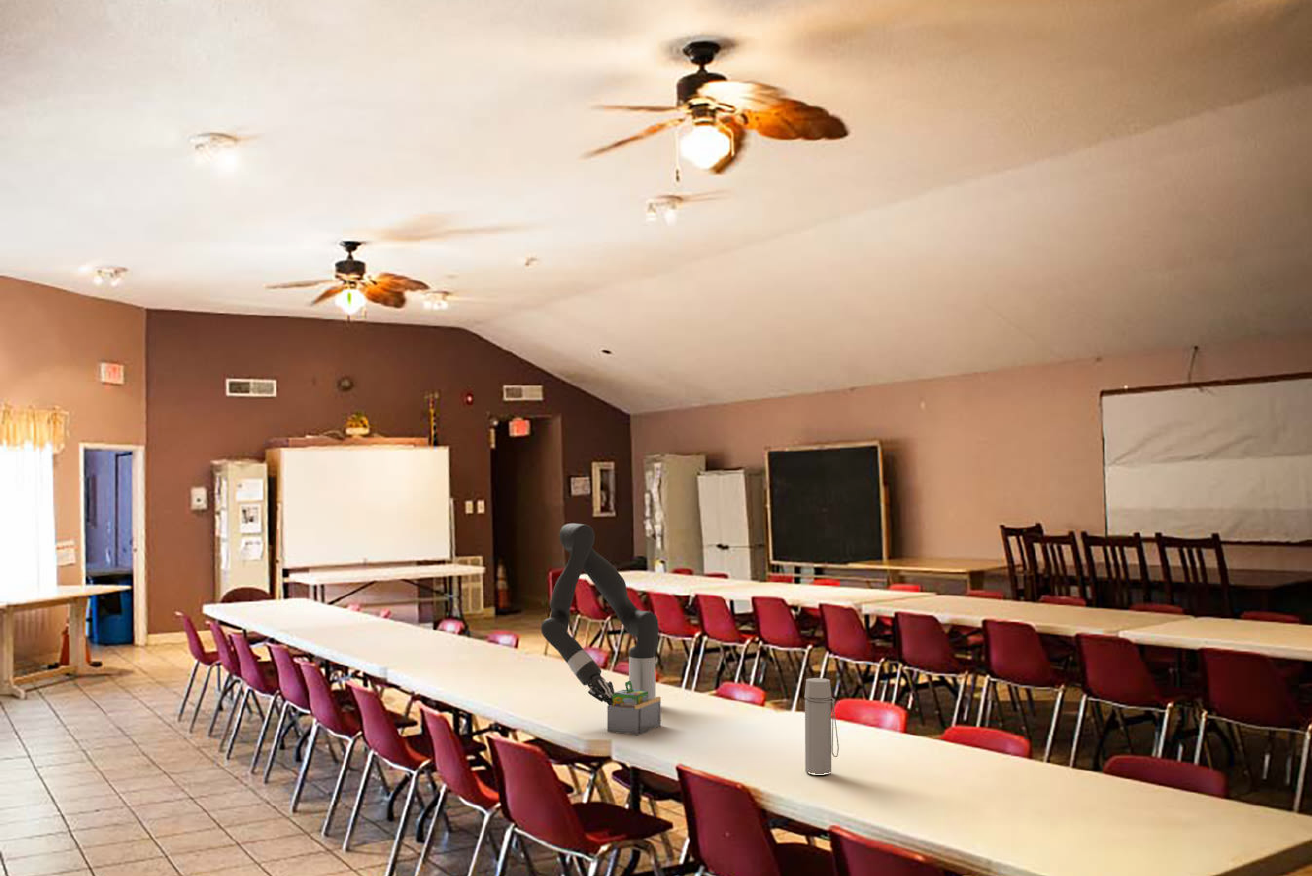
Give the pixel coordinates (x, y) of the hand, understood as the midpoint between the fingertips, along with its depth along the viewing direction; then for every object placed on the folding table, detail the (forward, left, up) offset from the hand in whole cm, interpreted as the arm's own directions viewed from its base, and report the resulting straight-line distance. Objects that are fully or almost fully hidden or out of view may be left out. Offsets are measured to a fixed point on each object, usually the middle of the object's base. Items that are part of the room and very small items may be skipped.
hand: (616, 708), depth 368 cm
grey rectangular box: (0, +7, -6) cm, 9 cm away
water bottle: (+28, +78, -6) cm, 83 cm away
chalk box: (0, +5, -6) cm, 8 cm away
